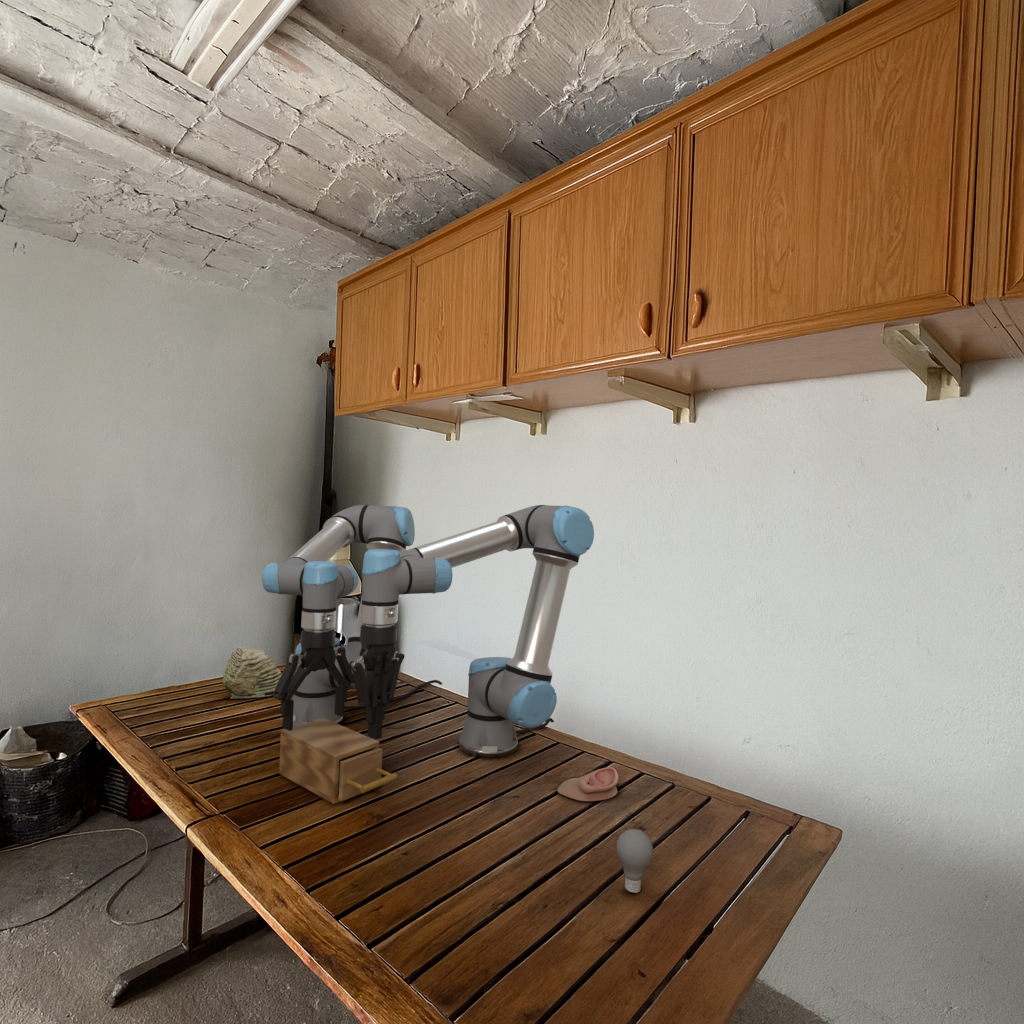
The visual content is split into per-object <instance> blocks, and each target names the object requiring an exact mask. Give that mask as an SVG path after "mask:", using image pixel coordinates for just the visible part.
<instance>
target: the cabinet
mask: <svg viewBox="0 0 1024 1024" xmlns="http://www.w3.org/2000/svg"><path fill="white" fill-rule="evenodd" d="M279 741H280V744H279V767H278V774H279V775H281V776H282V777H284V778H286V779H287V780H290V781H292V782H293V783H295V784H297V785H299V786H300V787H302V788H304V789H306V790H308V791H309V792H311V793H313V794H315V795H317V796H318V797H319V798H322V799H324V800H325V801H328V802H329V803H331V804H332V805H335V804H338V803H340V802H341V801H340V800H339V794H338V780H339V760H340V759H343V758H346V757H349V756H352V755H354V754H357V753H360V752H363V751H366V750H369V749H371V751H372V750H375V749H377V748H380V741H379V740H378V739H373V738H371V737H369V736H368V735H365V734H363V733H360V732H358V731H356V730H353V729H351V728H348V727H347V726H344V725H342V724H340V725H339V724H337V723H334V722H332V721H330V720H327V719H325V718H323V719H319V720H316V721H312V722H308V723H305V724H301V725H298V726H294V727H293V730H291V731H288V730H286V729H284V728H283V729H280V740H279Z"/></svg>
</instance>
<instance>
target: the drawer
mask: <svg viewBox="0 0 1024 1024" xmlns="http://www.w3.org/2000/svg"><path fill="white" fill-rule="evenodd" d="M382 775H383V776H384V777H383V776H382ZM397 780H398V774H397V773H396V772H394V773H390V772H389V771H386V770H384V769H383V748H381V747H379V748H377V749H375V750H372V751H371V749H369V750H366V751H363V752H360V753H357V754H354V755H352V756H349V757H346V758H343V759H340V760H339V780H338V794H339V800H340V802H345V801H346V800H347V801H348V800H349V799H351V798H354V797H357V796H358V795H361V794H366V793H368V792H370V791H373V790H375V789H378V788H380V787H382V786H384V785H387V784H390V783H392V782H394V781H397Z"/></svg>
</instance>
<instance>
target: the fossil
mask: <svg viewBox="0 0 1024 1024" xmlns="http://www.w3.org/2000/svg"><path fill="white" fill-rule="evenodd" d="M282 673H283V672H281V669H279V668H278V667H277V665H276V663H275V662H274V660H273V659H272V658H271V657H270V656H269V655H268V654H267V653H266V652H265V650H264V649H263V648H260V647H258V648H251V647H247V646H246V647H245V646H238V647H237V648H236V649H235V650H233V651H232V653H231V656H230V657H229V659H228V660H227V663H226V666H225V668H224V671H223V675H222V676H223V677H222V685H223V687H224V688H225V690H226V691H228V693H229V698H230V699H250V698H264V697H271V696H272V695H273V692H274V690H275V688H276V686H277V684H278V681H279V679H280V677H281V675H282ZM272 697H273V696H272Z"/></svg>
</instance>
